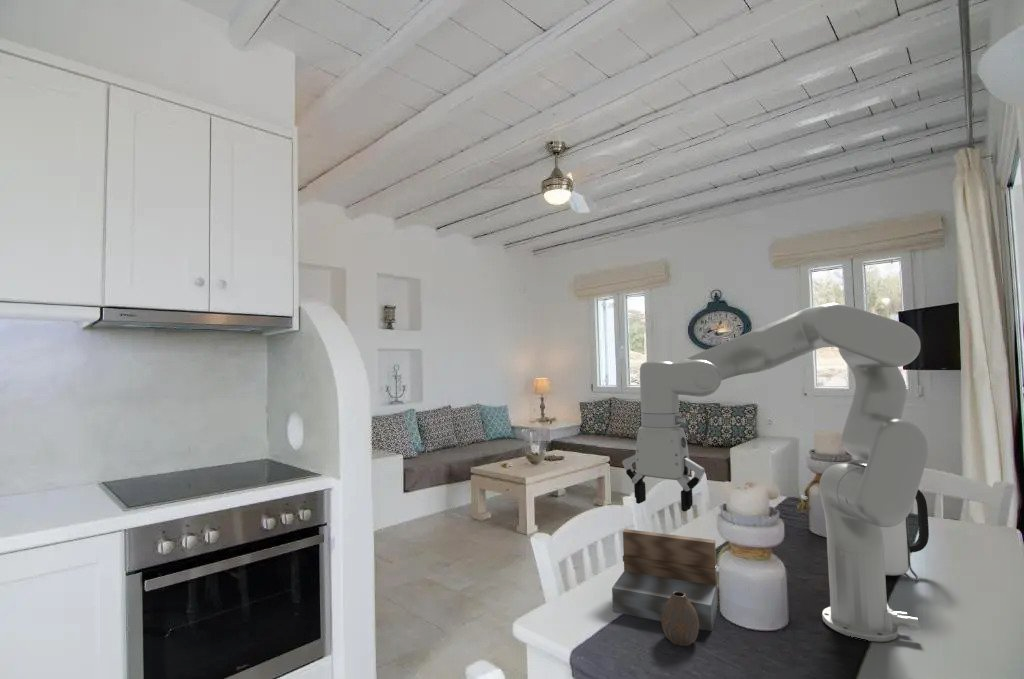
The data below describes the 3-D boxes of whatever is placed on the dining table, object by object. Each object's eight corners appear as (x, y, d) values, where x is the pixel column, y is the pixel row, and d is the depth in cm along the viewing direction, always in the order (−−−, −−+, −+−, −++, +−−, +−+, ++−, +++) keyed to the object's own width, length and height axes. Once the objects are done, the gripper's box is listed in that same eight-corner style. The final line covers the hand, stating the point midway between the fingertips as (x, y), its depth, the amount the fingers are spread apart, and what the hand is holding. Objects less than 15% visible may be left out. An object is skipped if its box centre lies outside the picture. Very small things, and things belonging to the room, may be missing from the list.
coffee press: (915, 593, 116) (907, 458, 118) (835, 573, 128) (828, 451, 130) (932, 571, 128) (924, 449, 129) (856, 554, 140) (850, 443, 141)
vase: (702, 652, 95) (700, 603, 95) (663, 648, 96) (661, 600, 97) (696, 632, 102) (695, 587, 102) (660, 630, 103) (658, 585, 103)
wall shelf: (718, 605, 113) (715, 540, 113) (712, 631, 102) (708, 558, 103) (627, 589, 122) (625, 529, 122) (612, 611, 111) (610, 545, 112)
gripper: (709, 422, 103) (712, 508, 103) (630, 417, 115) (632, 495, 114) (695, 425, 98) (698, 517, 97) (613, 420, 109) (616, 503, 108)
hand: (662, 505), depth 105 cm, fingers open, 9 cm apart
